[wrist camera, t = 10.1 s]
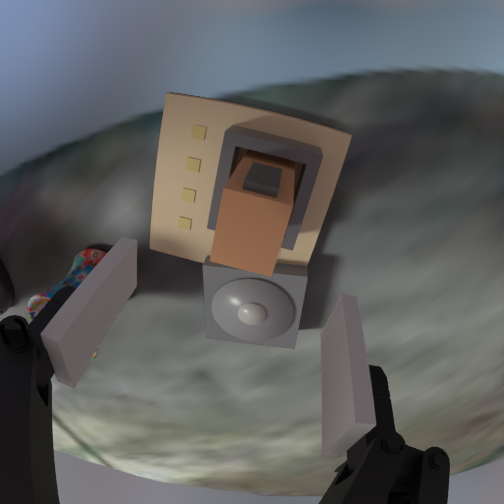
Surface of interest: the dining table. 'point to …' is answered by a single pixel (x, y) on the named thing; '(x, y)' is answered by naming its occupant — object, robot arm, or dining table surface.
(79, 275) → the mug
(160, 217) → the board
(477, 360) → the dining table surface
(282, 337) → the grey domed square block
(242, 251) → the plug
